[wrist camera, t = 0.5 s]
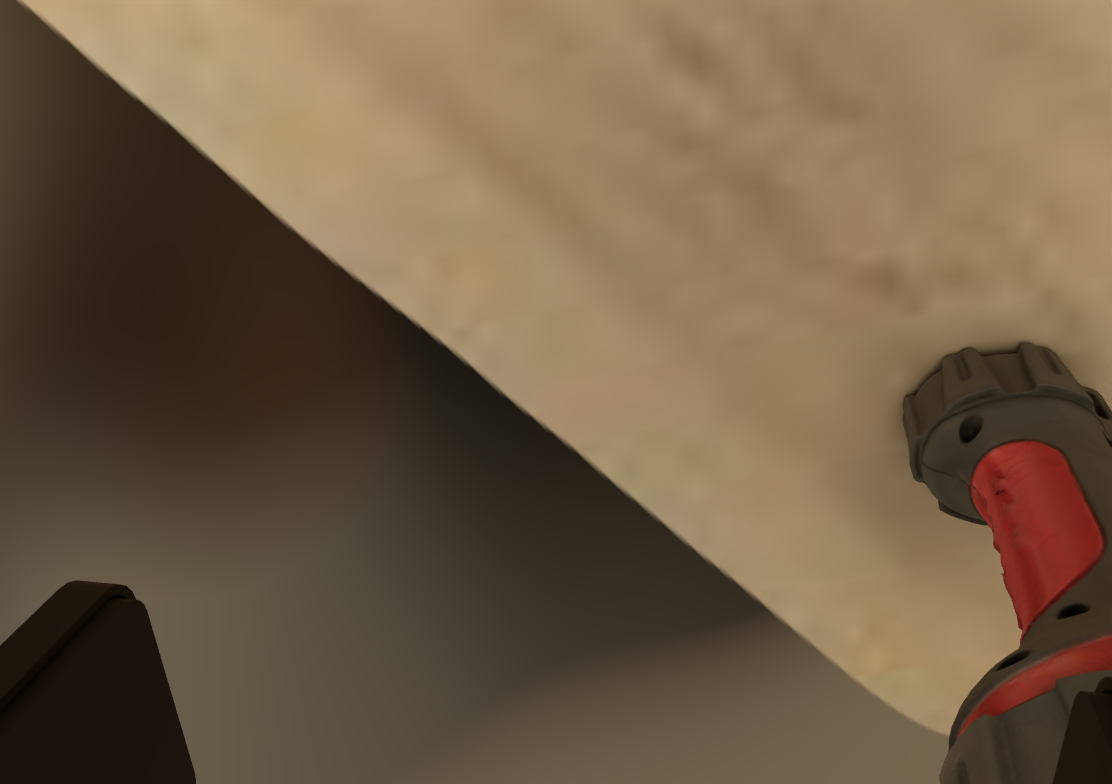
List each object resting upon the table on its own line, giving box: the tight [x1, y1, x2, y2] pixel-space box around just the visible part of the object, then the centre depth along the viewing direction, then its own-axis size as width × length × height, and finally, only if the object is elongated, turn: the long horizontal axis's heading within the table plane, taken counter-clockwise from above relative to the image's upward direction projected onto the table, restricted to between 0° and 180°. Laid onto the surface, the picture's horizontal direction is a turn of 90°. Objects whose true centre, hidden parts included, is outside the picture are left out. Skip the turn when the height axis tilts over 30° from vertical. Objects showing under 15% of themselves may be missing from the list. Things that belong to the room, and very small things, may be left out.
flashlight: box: [903, 343, 1112, 784], centre depth 28 cm, size 8×8×23 cm
